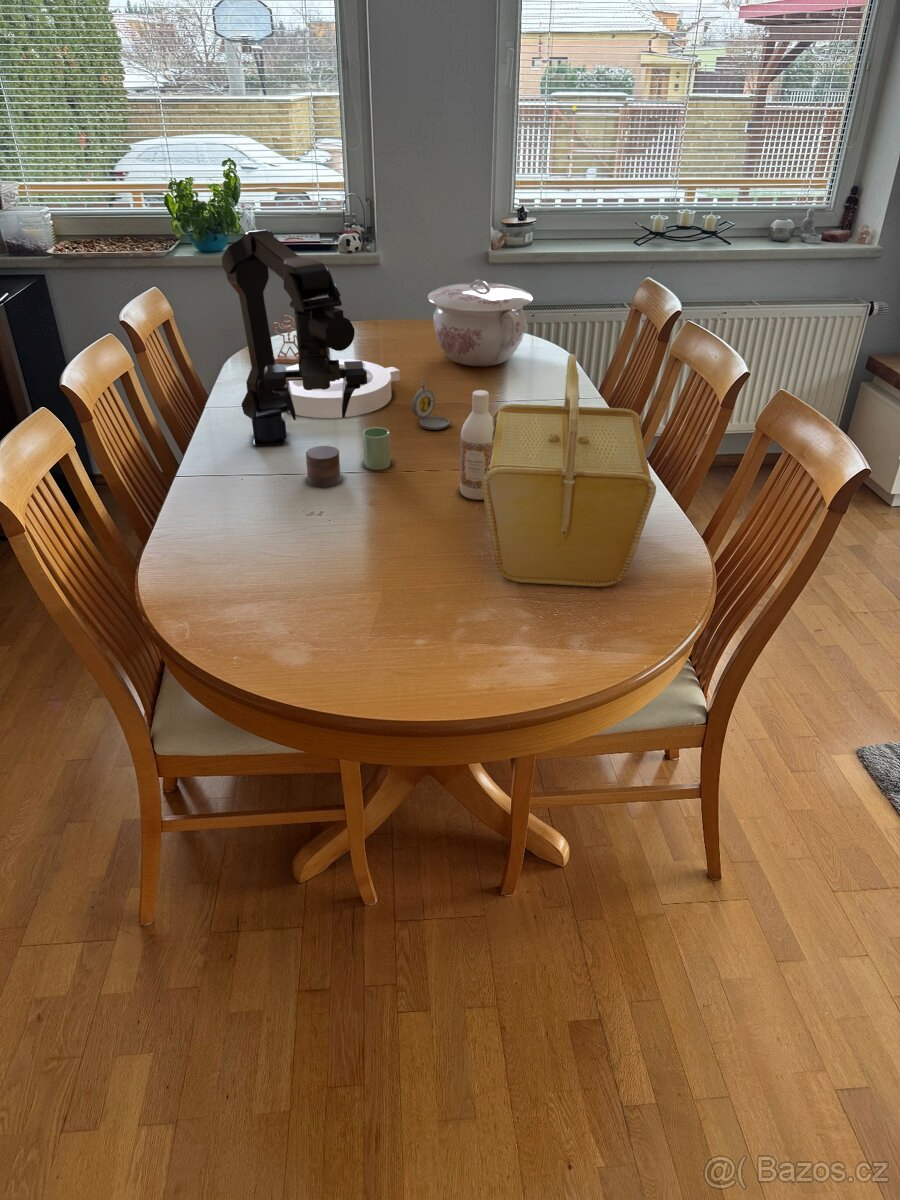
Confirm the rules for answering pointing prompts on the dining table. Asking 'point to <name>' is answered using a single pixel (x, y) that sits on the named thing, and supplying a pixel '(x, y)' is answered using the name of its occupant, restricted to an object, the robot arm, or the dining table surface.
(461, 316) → the chamber pot
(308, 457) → the dark brown wooden disc
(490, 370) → the dining table surface
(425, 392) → the pocket watch
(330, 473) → the middle chip
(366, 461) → the plastic cup
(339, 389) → the ring with crossbar
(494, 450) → the picnic basket
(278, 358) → the gingerbread man figurine
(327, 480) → the base chip
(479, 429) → the bath foam
